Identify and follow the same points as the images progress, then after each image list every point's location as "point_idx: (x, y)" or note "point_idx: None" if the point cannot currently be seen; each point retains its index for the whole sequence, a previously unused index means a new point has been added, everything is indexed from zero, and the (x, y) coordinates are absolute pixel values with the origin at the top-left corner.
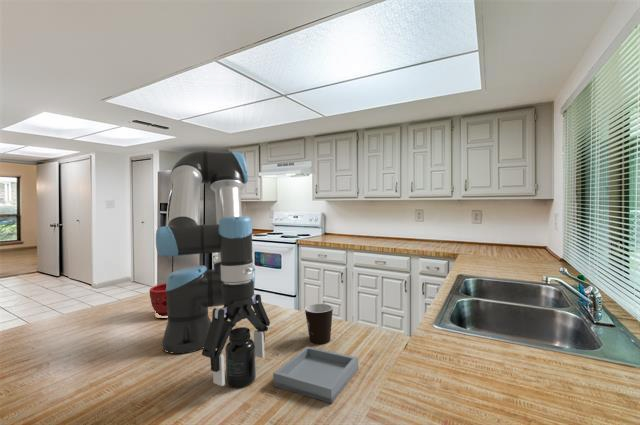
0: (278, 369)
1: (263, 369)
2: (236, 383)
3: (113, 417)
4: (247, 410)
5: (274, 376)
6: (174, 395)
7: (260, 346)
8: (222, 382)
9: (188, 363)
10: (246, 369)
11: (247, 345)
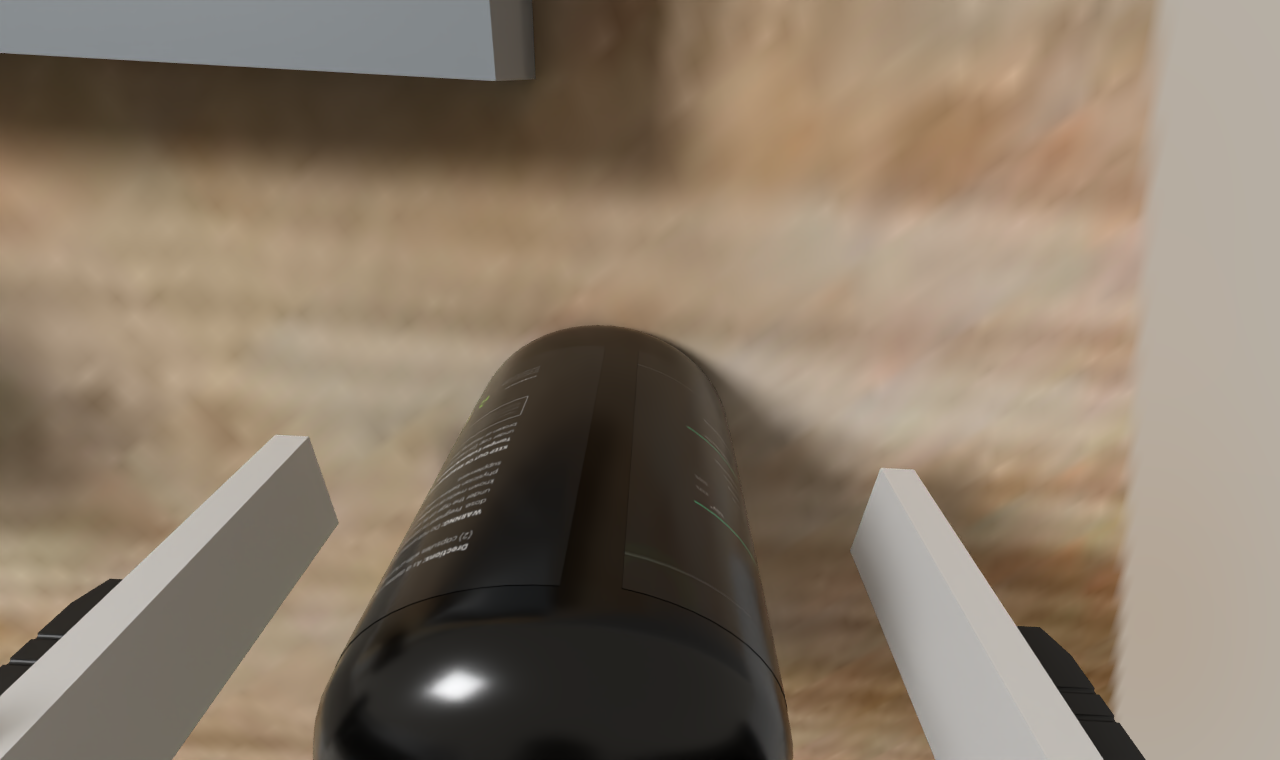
0: (373, 60)
1: (370, 367)
2: (724, 417)
3: None
4: (1004, 82)
5: (504, 58)
6: None
7: (224, 559)
8: (925, 492)
9: None
10: (666, 424)
11: (576, 731)
